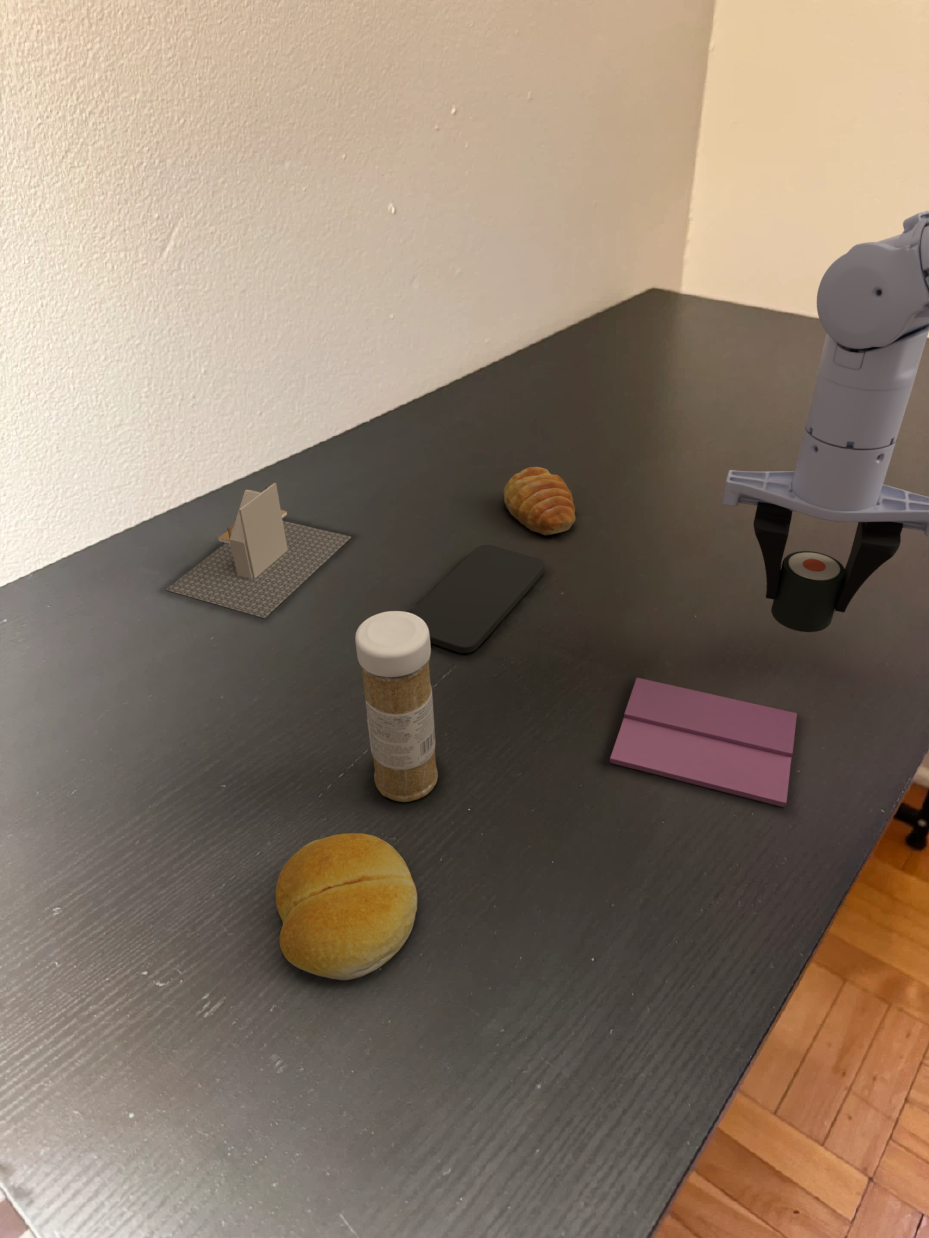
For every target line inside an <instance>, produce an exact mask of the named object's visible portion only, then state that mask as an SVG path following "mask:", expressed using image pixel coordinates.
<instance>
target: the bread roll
mask: <svg viewBox="0 0 929 1238" xmlns="http://www.w3.org/2000/svg"><path fill="white" fill-rule="evenodd" d="M275 886H276V887H275V906H276V909H277V913H278V915H279V916H280V919H281V921H282V926H281V930H280V933H279V946H280V950H281V952H282V954H283V957H284V958H285V959H286V961H288V962H289V963H290V964H291V965H292V966H294V967H296V968H297V969H300V970H302V971H305V972H307V973H310V974H312V975H315V976H318V977H323V978H327V979H330V980H331V979H332V980H339V981H350V980H354V979H358V978H362V977H364V976H366V975H368V974H370V973H373V972H374V971H376V970H378V969H379V968H381V967H382V966H384V965H385V964H386V963H388V961H390V960H391V959H392V958H393V957H394V956H395V955H396V954H397V953H398V952H400V950H401V949H402V948H403V946H404V945H405V943H406V941H407V940H408V939H409V937H410V934H411V933H412V930H413V928H414V924H415V921H416V914H417V911H418V893H417V887H416V884H415V882H414V880H413V877H412V874H411V871H410V869H409V867H408V865H407V862H406V861H405V860H404V858H403V857H402V855H401V854H400V853H399V852H398V851H397V850H396V849H395V848H394V847H393V846H392V845H391V843H388V842H386V841H385V840H384V839H381V838H379V837H378V836H377V835H374V834H373V835H372V834H368V833H361V832H360V833H358V832H356V833H355V832H348V833H338V834H333V835H330V836H327V837H323V838H320V839H315V840H312V841H310V842H308V843H306V844H305V845H304V846H303V847H302V848H300V849H299V850H297V851H296V852H295V853H294V854H293V855H292V856H291V857H290V858H289V859H288V860H287V862H285V864H284V865H283V867H282V869H281V870H280V872H279V876H278V879H277V882H276V885H275Z"/></svg>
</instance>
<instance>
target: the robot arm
mask: <svg viewBox="0 0 929 1238" xmlns="http://www.w3.org/2000/svg"><path fill="white" fill-rule="evenodd" d="M902 226H903V231H902V232H901V233H900V234H896V235H894V236H890V237H888V238H884V239H881V240H878V241H870V242H869V241H868V242H861V243H856V244H855V245H853V246H852V247H851V248H850V249H849V250H848V251H847V252H846V253H844V254H843V255H841V256H839V257H838V258H837V259H835V260H834V261H833V262H832V263H831V264H830V265H829V267H828V268H827V269H826V271H825V272H824V274H823V276H822V278H821V280H820V283H819V285H818V290H817V293H816V310H817V315H818V319H819V322H820V325H821V326H822V328H823V330H824V331H825V332H826V334H825V338H824V341H823V342H824V343H823V346H822V352H821V354H820V355H821V356H820V360H819V362H818V363H819V364H818V368H817V373H816V376H815V377H816V378H815V380H814V385H813V391H812V393H811V398H810V402H809V407H808V412H807V416H806V420H805V423H804V424H805V425H804V428H803V434H802V437H801V442H800V447H799V452H798V455H797V459H796V465H795V468H794V470H783V471H782V470H779V471H777V470H775V471H773V470H772V471H748V470H747V471H745V470H736V469H729V471H728V473H727V476H726V480H725V484H724V490H723V495H722V501H721V505H722V506H727V507H728V506H729V507H737V506H739V504H744V505H750V506H756V510H755V514H754V520H753V530H754V535H755V538H756V540H757V542H758V544H759V548H760V550H761V554H762V559H763V563H764V570H765V577H766V579H765V580H766V592H765V598H766V599H769V600H772V601H773V600H775V598H776V594H777V589H778V583H779V576H780V571H781V567H782V562H783V559H784V554H785V549H786V545H787V542H788V538H789V533H790V526H791V522H792V517H793V512H796V513H800V514H803V515H806V516H809V517H812V518H815V519H819V520H823V521H828V522H836V523H837V522H838V523H857V525H856V526H857V527H856V528H855V529H856V530H855V535H854V537H853V542H852V545H851V549H850V553H849V555H848V559H847V561H846V564H845V566H844V569H845V576H844V580H843V583H842V587H841V590H840V593H839V596H838V599H837V602H836V606H835V610H834V612H838V613H845V612H846V611H847V609H848V606H849V604H850V603H851V601H852V600H853V598H854V597H855V595H856V593H857V592H858V591H859V590H860V588H861V587H862V586H863V584H864V583H865V582H866V581H867V580H868V579H869V578H870V576H872V575H873V574H874V572H876V571H877V570H878V569H879V568H880V567H881V566H882V565H884V564H885V563H886V562H887V561H889V560H890V559H892V558H893V557H894V556H895V554H896V553H897V551H898V550H899V548H900V545H901V542H902V539H901V538H902V537H901V535H902V531H903V529H907V530H908V529H909V530H913V531H914V530H915V531H922V532H923V534H924V536H926V537H929V496H927V495H922V494H919V493H915V492H913V491H908V490H906V489H905V490H904V489H902V488H898V487H894V486H891V485H888V484H884V483H885V479H886V476H887V473H888V469H889V467H890V463H891V460H892V456H893V453H894V450H895V447H896V444H897V440H898V436H899V433H900V430H901V427H902V424H903V421H904V417H905V413H906V410H907V407H908V403H909V400H910V396H911V394H912V390H913V387H914V384H915V380H916V377H917V375H918V374H917V373H918V369H919V366H920V363H921V358H922V355H923V352H924V349H925V346H926V342H927V339H928V336H929V210H925V211H920V212H918V213H916V214H914V215H912V216H909V217H908V218H906V219H904V220H903V222H902Z"/></svg>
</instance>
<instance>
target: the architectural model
mask: <svg viewBox="0 0 929 1238" xmlns="http://www.w3.org/2000/svg"><path fill="white" fill-rule="evenodd" d="M277 486H278V485H277V483H276V482H273V483H272V484H270V485H269V486H268V487H267V486H266V487H265V488H264V490H263V491H261V492H260V491H256V490H251V489H245V490H244V493H243V496H242V499H241V502H240V505H239V507H238V511H237V514H236V518H235V522H234V523H233V524H232V525H229V526H227V527H226V530H227V531H225V532H224V533H223V534H221V535H220V536H218V539H217V540H218V542H221V543H224V544H222V545H221V546H220V547H219V548H217V549H216V550H215V551H213V552H212V553H211V554H210V555H208V556H207V557H206V558H205V559H203V560H202V561H201V562H200V563H198V564H197V565H195V566H194V567H193V568H191V570H189V571H188V572H187V573H185V574H184V575H183V576H182V577H180V578H179V579H177V580H176V582H174V583H172V585H170V586H169V587H167V588H166V589H165V591H168V592H171V593H176V594H179V595H183V596H186V597H189V598H192V599H197V600H200V601H204V602H207V603H210V604H213V605H217V606H220V607H224V608H228V609H232V610H235V611H238V612H242V613H246V614H249V615H252V616H256V617H259V618H263V619H266V618H267V617H268V616H269V615H271V613H273V611H274V610H275V609H276V608H278V607H279V606H280V605H281V604H282V603H283V602H284V601H285V600H286V599H287V598H288V597H289V596H290V595H292V593H294V592H295V591H296V590H297V589H298V588H299V587H300V586H302V584H303V583H304V582H306V581H307V580H308V579H309V578H310V577H311V576H312V575H313V574H314V573H315V572H316V571H317V570H319V568H321V566H323V565H324V564H325V563H326V562H327V561H328V560H329V559H330V558H331V557H332V556H333V555H335V553H336V552H338V551H339V549H341V548H342V547H343V546H344V545H345V544H346V543H347V542H348V541H349V540H350V539H351V538H352V536H351V535H345V534H342V533H337V532H334V531H333V532H332V531H329V530H324V529H321V528H315V527H311V526H307V525H303V524H299V523H294V522H290V521H286V520H283V518H285V517H286V516H287V515H288V513H287V512H288V511H287V510H284V509H282V508H281V504H280V498H279V492H278V487H277Z"/></svg>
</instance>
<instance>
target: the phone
mask: <svg viewBox="0 0 929 1238" xmlns="http://www.w3.org/2000/svg"><path fill="white" fill-rule="evenodd" d="M545 568H546V563H545V562H544V560H542V559H540V558H538V557H534V556H530V555H527V554H523V553H520V552H517V551H514V550H510V549H507V548H503V547H500V546H496V545H492V544H481V545H479V546H477V547H476V548H474V549H473V550H472V551H471V552H470V553H469V554H468V555H467V556H466V557H465V558H464V559H463V560H462V561H461V562H460V563H459V564H458V565H457V566H456V567H454V569H453V570H452V571H450V572H449V574H448V575H447V576H446V577H445V578H444V579H442V580H441V581H440V582H439V583H438V584H437V585H436V586H434V588H433V589H432V590H431V591H430V592H429V593H428V594H427V595H426V596H425V597H424V598H423V599H422V600H421V601H420V602H418V604H417V605H415V607H413V609H411V611H409V613H411V614H414V615H416V616H418V617H420V618H421V619H422V620H423V621H424V622H425V623H426V625H427V626H428V629H429V636H430V644H433V645H437V646H439V647H442V648H444V649H446V650H447V649H448V650H450V651H453V652H456V653H460V654H469V653H472V652H474V651H476V650H477V649H478V648H479V647H480V646H481V645H482V644H483V643H484V642H485V640H486V639H487V638H489V636H490V635H491V633H493V631H494V630H495V629H496V628H497V627H498V626H499V624H500V623H501V622H502V621H503V620H504V619H505V617H507V615H508V614H509V613H510V612H511V611H512V610H513V608H515V606H516V605H517V604H518V603H519V602H520V601H521V599H523V597H524V596H525V595H526V594H528V592H529V591H530V590H531V588H532V587H533V586H534V585H535V583H537V581H539V579H540V578H541V577H542V576H543V574H544V572H545V570H546V569H545Z"/></svg>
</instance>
